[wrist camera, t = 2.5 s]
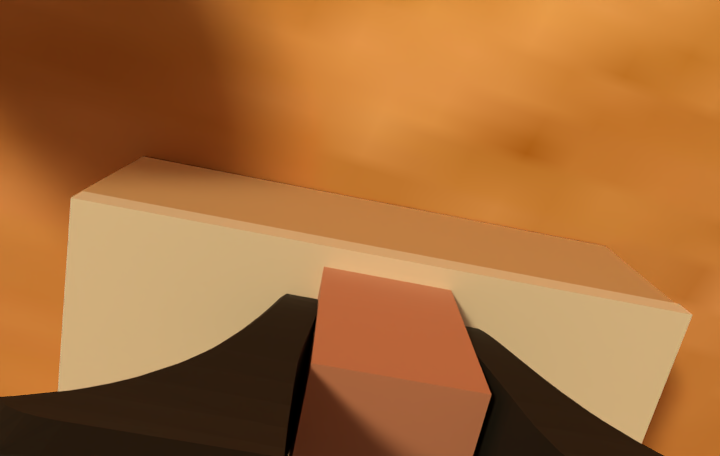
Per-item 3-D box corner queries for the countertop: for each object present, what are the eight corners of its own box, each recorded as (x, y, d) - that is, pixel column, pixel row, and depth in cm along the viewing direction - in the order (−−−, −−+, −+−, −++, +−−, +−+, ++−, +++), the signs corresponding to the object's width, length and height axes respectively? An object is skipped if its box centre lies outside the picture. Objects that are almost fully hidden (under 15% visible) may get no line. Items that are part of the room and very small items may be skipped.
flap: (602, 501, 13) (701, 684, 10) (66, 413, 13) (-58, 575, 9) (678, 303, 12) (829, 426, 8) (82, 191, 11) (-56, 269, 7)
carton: (503, 548, 19) (541, 677, 15) (109, 486, 18) (44, 606, 14) (605, 246, 16) (684, 311, 12) (143, 156, 15) (72, 196, 11)
